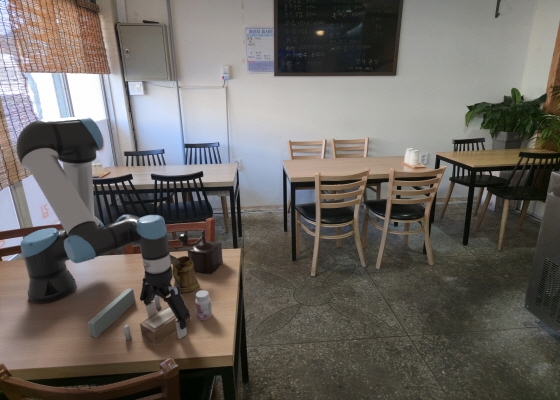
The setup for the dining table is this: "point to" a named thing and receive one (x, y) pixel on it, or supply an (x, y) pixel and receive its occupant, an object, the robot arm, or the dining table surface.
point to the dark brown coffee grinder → (203, 254)
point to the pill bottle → (203, 305)
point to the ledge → (115, 313)
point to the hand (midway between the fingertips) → (167, 328)
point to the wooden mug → (184, 273)
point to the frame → (160, 326)
